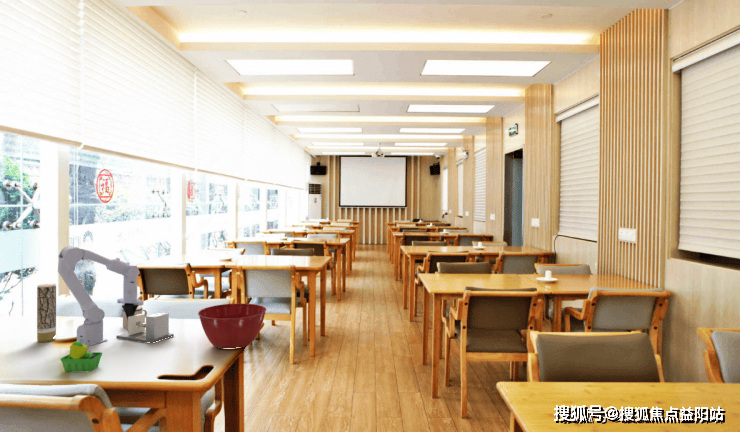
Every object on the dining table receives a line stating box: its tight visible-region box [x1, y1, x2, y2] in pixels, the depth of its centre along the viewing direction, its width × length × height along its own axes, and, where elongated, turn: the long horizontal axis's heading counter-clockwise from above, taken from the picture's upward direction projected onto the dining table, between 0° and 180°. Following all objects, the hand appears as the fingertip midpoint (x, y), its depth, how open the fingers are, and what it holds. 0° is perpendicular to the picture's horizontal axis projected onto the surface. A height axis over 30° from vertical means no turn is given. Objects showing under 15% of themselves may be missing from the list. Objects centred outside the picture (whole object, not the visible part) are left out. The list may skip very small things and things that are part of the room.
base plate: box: [116, 329, 174, 344], centre depth 198 cm, size 12×22×1 cm, turn 69°
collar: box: [127, 313, 146, 335], centre depth 200 cm, size 7×2×8 cm, turn 159°
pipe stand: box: [136, 312, 170, 340], centre depth 198 cm, size 8×19×10 cm, turn 69°
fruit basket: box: [60, 340, 103, 373], centre depth 157 cm, size 11×9×11 cm
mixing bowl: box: [197, 302, 267, 349], centre depth 187 cm, size 28×28×16 cm
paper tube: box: [36, 283, 57, 343], centre depth 193 cm, size 7×7×25 cm
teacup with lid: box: [122, 305, 148, 329], centre depth 219 cm, size 12×9×12 cm
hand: (130, 319), depth 201 cm, fingers closed
